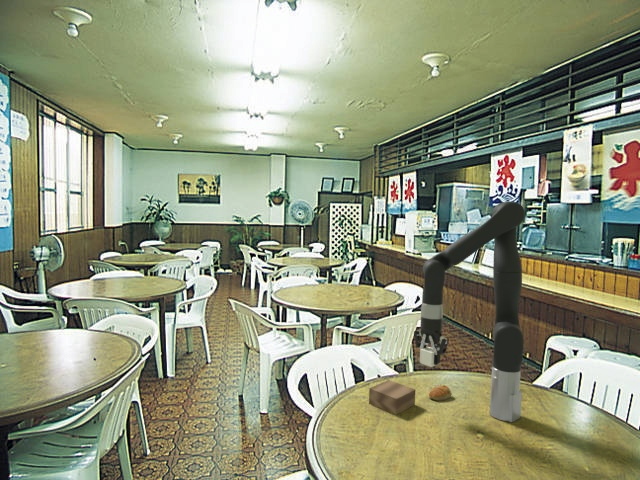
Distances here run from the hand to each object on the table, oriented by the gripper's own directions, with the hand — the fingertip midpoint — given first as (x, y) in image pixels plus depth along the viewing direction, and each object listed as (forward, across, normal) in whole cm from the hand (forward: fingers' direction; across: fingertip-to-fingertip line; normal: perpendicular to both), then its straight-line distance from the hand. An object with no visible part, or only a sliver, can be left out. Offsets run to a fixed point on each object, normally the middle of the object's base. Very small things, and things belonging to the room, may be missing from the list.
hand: (429, 362), depth 155 cm
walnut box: (+17, +10, +8) cm, 22 cm away
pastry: (+18, +4, -12) cm, 22 cm away
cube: (0, 0, 0) cm, 0 cm away
